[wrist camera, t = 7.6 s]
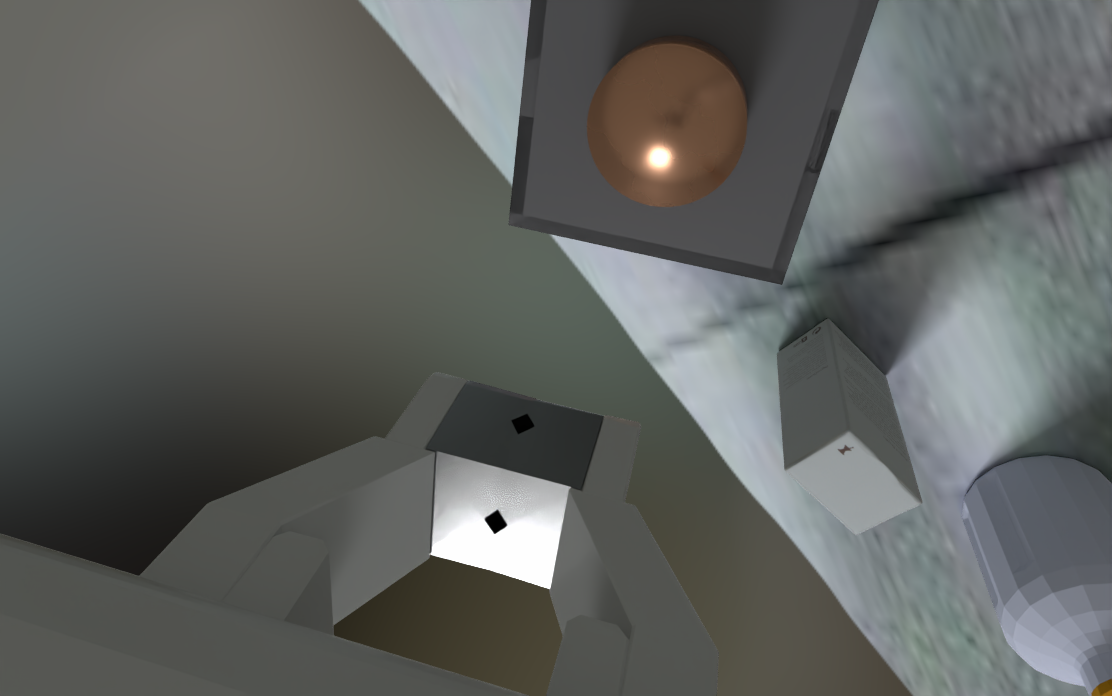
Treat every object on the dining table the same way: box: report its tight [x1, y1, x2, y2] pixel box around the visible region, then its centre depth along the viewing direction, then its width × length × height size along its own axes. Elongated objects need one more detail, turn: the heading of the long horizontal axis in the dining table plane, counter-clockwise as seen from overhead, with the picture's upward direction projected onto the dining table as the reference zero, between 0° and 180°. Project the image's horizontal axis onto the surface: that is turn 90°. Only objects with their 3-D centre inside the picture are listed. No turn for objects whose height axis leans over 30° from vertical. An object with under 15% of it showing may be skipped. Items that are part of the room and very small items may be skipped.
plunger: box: [587, 35, 747, 207], centre depth 31 cm, size 10×10×15 cm
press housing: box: [509, 0, 879, 285], centre depth 33 cm, size 12×12×14 cm
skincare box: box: [777, 319, 922, 535], centre depth 41 cm, size 6×4×12 cm
